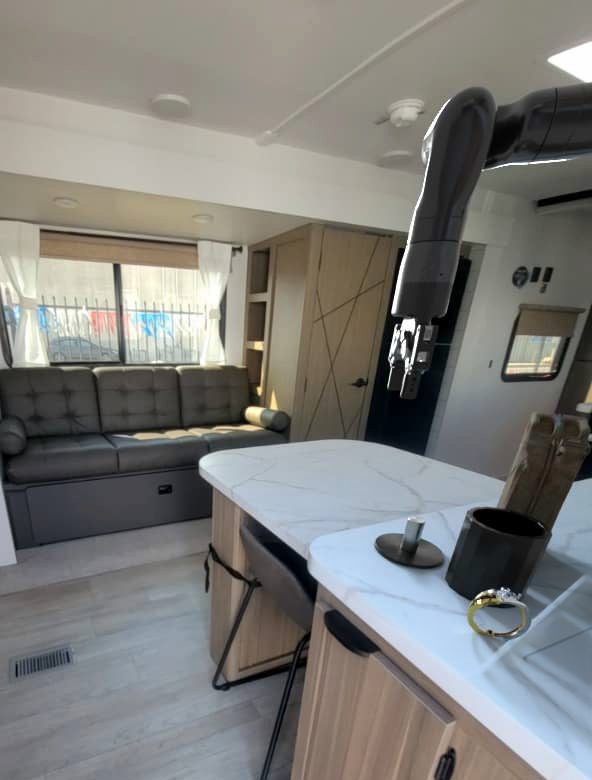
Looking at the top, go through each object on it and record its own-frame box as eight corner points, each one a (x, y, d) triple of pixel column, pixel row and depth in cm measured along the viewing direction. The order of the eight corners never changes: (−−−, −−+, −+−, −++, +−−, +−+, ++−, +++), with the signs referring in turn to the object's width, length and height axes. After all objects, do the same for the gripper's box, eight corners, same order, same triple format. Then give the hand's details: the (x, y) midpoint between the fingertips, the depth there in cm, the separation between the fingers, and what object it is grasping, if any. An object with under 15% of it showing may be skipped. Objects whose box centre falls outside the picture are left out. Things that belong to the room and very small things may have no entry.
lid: (397, 532, 83) (405, 500, 80) (454, 559, 74) (466, 524, 71) (360, 548, 77) (368, 514, 74) (419, 579, 68) (430, 542, 65)
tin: (463, 564, 73) (486, 501, 67) (531, 596, 65) (564, 527, 59) (431, 583, 67) (453, 516, 62) (501, 620, 59) (534, 546, 54)
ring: (460, 636, 56) (478, 589, 52) (459, 622, 58) (477, 576, 55) (520, 655, 53) (544, 606, 50) (517, 639, 56) (539, 592, 52)
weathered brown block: (487, 526, 86) (532, 408, 75) (536, 539, 82) (590, 415, 71) (476, 564, 73) (529, 426, 62) (534, 582, 68) (601, 437, 57)
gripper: (472, 277, 53) (439, 403, 60) (435, 285, 65) (411, 388, 72) (412, 276, 54) (386, 401, 61) (387, 284, 66) (368, 386, 73)
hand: (400, 394), depth 67 cm, fingers open, 8 cm apart
